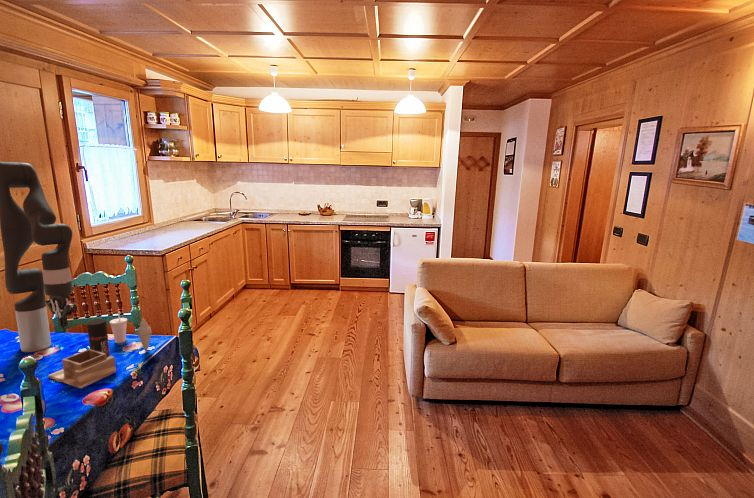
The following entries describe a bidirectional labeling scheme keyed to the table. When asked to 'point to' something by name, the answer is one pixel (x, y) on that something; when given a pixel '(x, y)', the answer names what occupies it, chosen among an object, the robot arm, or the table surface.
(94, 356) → the socket block
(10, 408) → the table surface
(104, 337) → the deodorant
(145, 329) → the ice cream cone
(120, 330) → the smoothie
